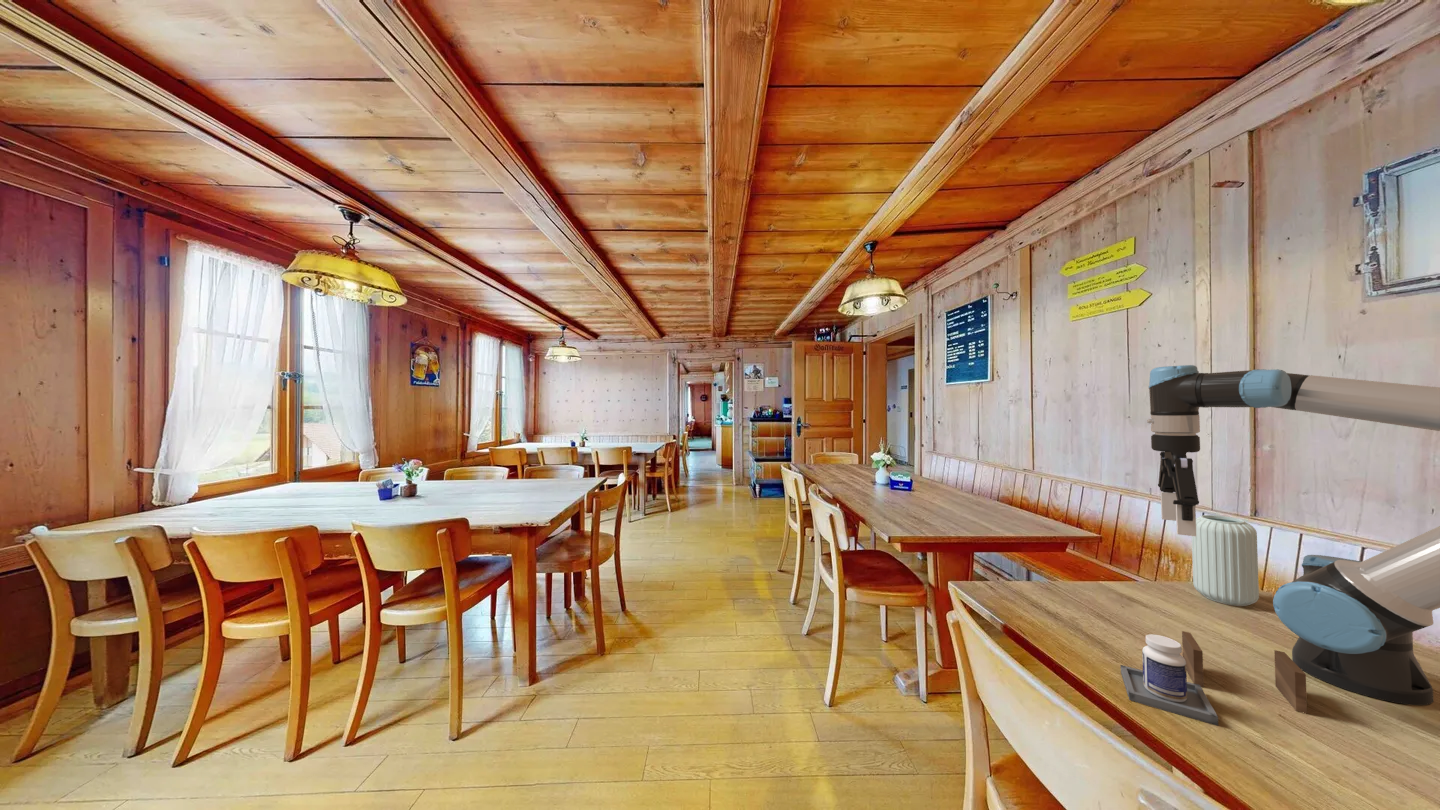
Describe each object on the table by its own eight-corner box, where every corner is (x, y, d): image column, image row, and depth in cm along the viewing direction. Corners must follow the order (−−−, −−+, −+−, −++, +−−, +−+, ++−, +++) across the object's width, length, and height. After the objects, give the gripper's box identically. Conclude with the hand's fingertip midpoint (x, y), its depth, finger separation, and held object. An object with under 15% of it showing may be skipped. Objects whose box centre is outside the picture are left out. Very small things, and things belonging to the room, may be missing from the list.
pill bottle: (1196, 705, 76) (1195, 650, 76) (1159, 702, 77) (1157, 647, 77) (1169, 684, 81) (1167, 633, 81) (1135, 681, 82) (1133, 631, 82)
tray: (1200, 692, 80) (1199, 684, 80) (1218, 725, 72) (1218, 717, 72) (1120, 672, 86) (1120, 664, 86) (1129, 700, 78) (1129, 692, 78)
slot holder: (1285, 688, 80) (1284, 652, 80) (1307, 714, 74) (1305, 674, 74) (1183, 664, 88) (1181, 631, 88) (1194, 685, 82) (1193, 649, 82)
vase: (1269, 613, 107) (1266, 526, 107) (1203, 603, 113) (1200, 521, 113) (1246, 595, 116) (1243, 516, 116) (1186, 587, 123) (1184, 511, 123)
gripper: (1140, 430, 107) (1143, 512, 107) (1164, 437, 87) (1168, 539, 87) (1183, 430, 103) (1186, 516, 103) (1218, 438, 83) (1222, 545, 83)
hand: (1177, 527), depth 95 cm, fingers open, 13 cm apart
